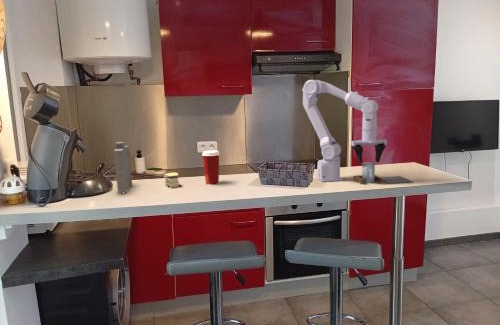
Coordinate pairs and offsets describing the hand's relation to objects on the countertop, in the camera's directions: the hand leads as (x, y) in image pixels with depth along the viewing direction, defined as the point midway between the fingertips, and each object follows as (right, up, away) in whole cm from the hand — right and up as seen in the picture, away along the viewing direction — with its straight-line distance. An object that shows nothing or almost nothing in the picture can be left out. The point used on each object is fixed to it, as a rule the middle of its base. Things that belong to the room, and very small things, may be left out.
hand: (368, 162), depth 170 cm
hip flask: (-103, -12, +2) cm, 103 cm away
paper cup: (-66, -9, +8) cm, 67 cm away
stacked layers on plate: (-83, -11, +5) cm, 84 cm away
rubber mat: (+12, -8, +3) cm, 14 cm away
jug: (0, -8, 0) cm, 8 cm away
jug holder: (0, -8, +1) cm, 8 cm away
